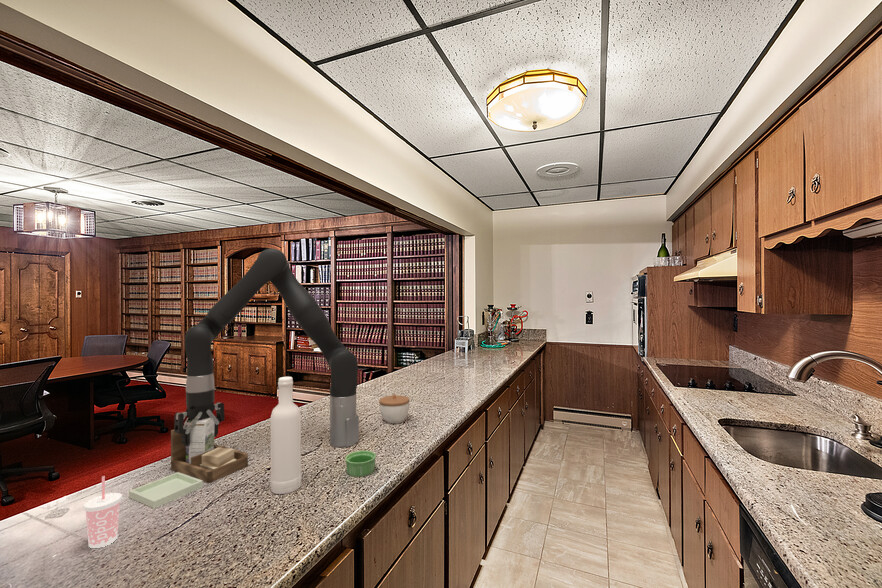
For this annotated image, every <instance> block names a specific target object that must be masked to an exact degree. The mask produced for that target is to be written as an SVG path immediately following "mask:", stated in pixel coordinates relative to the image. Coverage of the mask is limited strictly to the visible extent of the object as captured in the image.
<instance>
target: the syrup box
mask: <svg viewBox="0 0 882 588" xmlns="http://www.w3.org/2000/svg"><path fill="white" fill-rule="evenodd" d="M191 422H192V421H189V422H188V423H191ZM187 427H188V425H187V426H186V428H187ZM214 428H215V423H214V421H213V418H212V419H211V418H210V417H209V418H206V419H202V420H198V421H197V422H196V424H195V426H194V427H192V429H191V430H190V432H189V433H190V445H189V446H186V463H189V464H191V457H194V456H196V455H199V454H202V453H205V452H207V451H210V450H213V449H214V444H215V437H214Z"/></svg>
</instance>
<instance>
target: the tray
mask: <svg viewBox="0 0 882 588" xmlns="http://www.w3.org/2000/svg"><path fill="white" fill-rule="evenodd" d="M202 488H204V481H202V480H200V479H197V478H194V477H191V476H188V475H185V474H182V473H179V472H174V473H171V474H170V475H167V476H165V477H162V478H159V479H157V480H153V481H151V482H149V483H146V484H144V485H141V486H138V487H135V488H132V489H130V490H129V492H128V498H130V499H131V500H134V501H136V502H139V503H141V504H142V505H144V506H147V507H149V508H152V509H156V508H158V507H161V506H163V505H165V504H167V503H170V502H172V501H174V500H177V499H179V498H181V497H184V496H186V495H188V494H191V493H192V492H195V491H197V490H199V489H202Z"/></svg>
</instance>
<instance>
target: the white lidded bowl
mask: <svg viewBox="0 0 882 588" xmlns="http://www.w3.org/2000/svg"><path fill="white" fill-rule="evenodd" d="M378 403H379V412H380V416H381V417H382V419H383V420H384V421H385V422H386V424H391V423H395V424H400V422H401V423H402V422H404V420H405V418H406V417H407V416H408V414H409V409H410V398H409V396H405V395H398V394H397V395H396V394H394V393H393V394H392V395H388V396H384V397H381V398H379V401H378Z"/></svg>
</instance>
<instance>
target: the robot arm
mask: <svg viewBox="0 0 882 588" xmlns="http://www.w3.org/2000/svg"><path fill="white" fill-rule="evenodd" d="M269 282H270V283H271V284H272V285H273V286H274V288H275V289H276V290H277V292H278V293H279V294H280V296H281V298H282V300H283V302H284V304H285V306H286V307H287V309H288V310H289V312H290V314H291V316H292V318H293V319H294V320H295V321H296V323H297V325H298V326H299V327H300V328H301V329H302V331H303V333H305V334H306V335H307V336H308V338H309V339H311V340H312V342H313V343H314V344H315V345H316V346H317V347H318V349H319V350H320V352H321V354H322V355H323V358H324V359H325V361H326V362H327V365H328V366H329V368H330V387H329V444H330V446H332V447H334V448H335V447H336V448H337V447H338V448H342V447H343V448H344V447H345V448H349V447H350V446H352V445H354V444H356V443H358V442H359V441H360V426H359V424H360V416H359V414H357V388H358V382H359V381H358V379H359V377H358V374H359V373H358V371H359V365H358V358H357V356H356V355H355V354H354V353H353V352H352V351H351V350H349V349H348V348H347V347H346V346H345V345H344V343H342V342H341V340H340V339H339V338H338V337H337V335H336V334H335V331H334V330H333V328H332V325H331V323H330V321H329V319H328V317H327V316H326V314H325V312H324V310H323V309H322V308H321V306H320V305H319V303H318V302H317V300H315V298H314V297H313V296H312V294H311V293H310V292H309V291H308V290H307V289H306V288H305V287H304V286H303V285H302V284H301V283H300V281H298V279H297V278H296V276H295V275H294V272H293V271H292V269H291V267H290V266H289V264H288V260H287V256H286V255H285V253H284V252H283V251H281V250H279V249H277V248H266V249H264V250H262V251H261V252H259V254H258V257H257V258H256V260H255V261H254V262H253V264H252V265H251V266H250V268H249V269H248V271H247V272H245V274H244V275H243V276H242V277H241V278H240V279H239V281H238V282H237V283H236V284H234V285H233V287H232V288H231V289H229V290H228V291H227V292H226V293H225V294H223V296H222V297H221V298H220V299H219V300H217V302H216V303H215V304H214V305H213V306H212V307H211V308H210V309H209V311H208V312H207V314H206V315H205V316H204V317H203V318H202V319H201V320H200V321H199V322H198V323H197V324H196V325H194V326H191V327H190V328H188V330H187V331H186V332H185V335H184V348H185V355H186V380H185V405H186V409H185V411H182V412H179V411H178V412H176V413H175V414H174V426H173V427H174V428H173V430H174V432H175V433H179V434H182V444H183V445H184V446H189V445H190V433H189V432H190V430H191V429H192V427H194V426H195V424H196V422H197V421H198V420H202V419H206V418H209V417H210V418H211V419H212V418H213V421H214V423H215V428H214V438H216V437H217V436H218V434H219V424H220V423H221V422H224V421H226V420H225V403H224V402H216V403H215V376H214V375H215V374H214V358H213V356H212V343H213V341H215V339H216V338H217V337H218V335H219V334H220V333H221V332H222V331H223V330H224V328H226V326H228V325H229V324H230V323H231V322H232V321H234V319H235V318H236V317H237V316H238V315H239V314H240V313H241V312H242V311H243V310H244V309H245V307H246V306H247V305H248V303H249V302H251V300H252V298H253V297H255V296H256V294H257V293H258V292H259V291H260V290H261V289H262V288H263V287H264V286H266V284H267V283H269ZM214 411H215V412H216V413H215V414H214ZM186 417H187V418H186ZM185 419H186V420H185ZM184 420H185V421H184ZM189 421H192V422H191V423H188V422H189ZM187 425H188V427H187V428H186V426H187Z"/></svg>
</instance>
